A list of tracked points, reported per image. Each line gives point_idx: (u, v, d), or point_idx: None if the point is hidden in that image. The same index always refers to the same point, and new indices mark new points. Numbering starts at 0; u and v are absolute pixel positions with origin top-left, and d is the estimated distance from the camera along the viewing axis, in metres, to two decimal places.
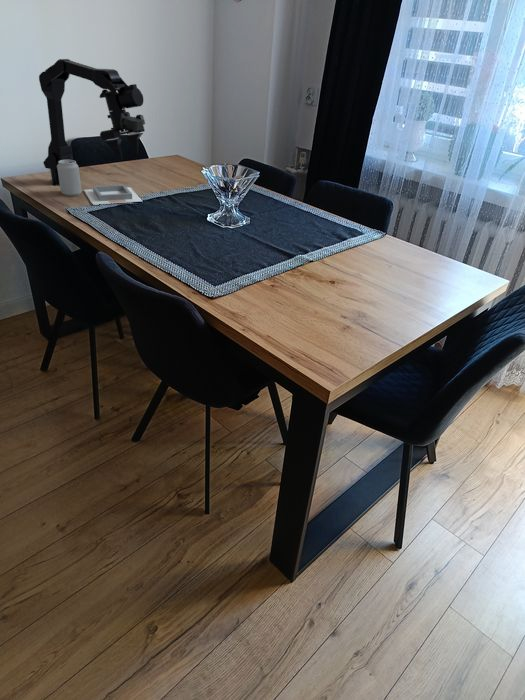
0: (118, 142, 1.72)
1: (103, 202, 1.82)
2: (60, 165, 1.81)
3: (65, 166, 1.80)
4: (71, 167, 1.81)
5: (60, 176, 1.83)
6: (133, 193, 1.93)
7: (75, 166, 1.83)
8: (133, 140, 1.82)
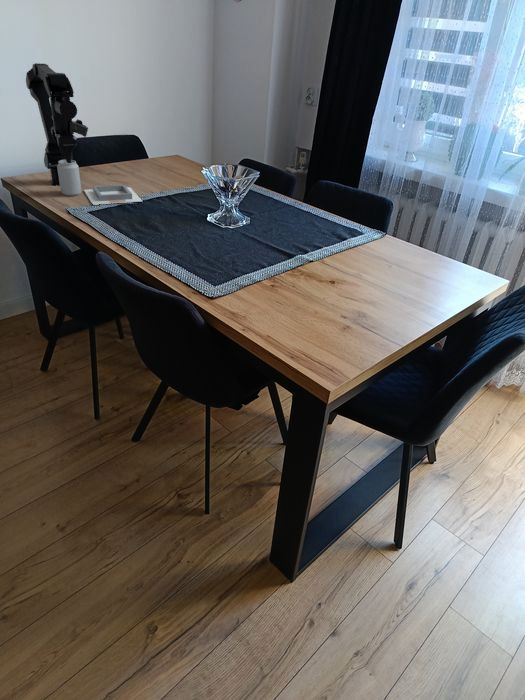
0: None
1: (103, 202, 1.82)
2: (60, 165, 1.81)
3: (65, 166, 1.80)
4: (71, 167, 1.81)
5: (60, 176, 1.83)
6: (133, 193, 1.93)
7: (75, 166, 1.83)
8: None
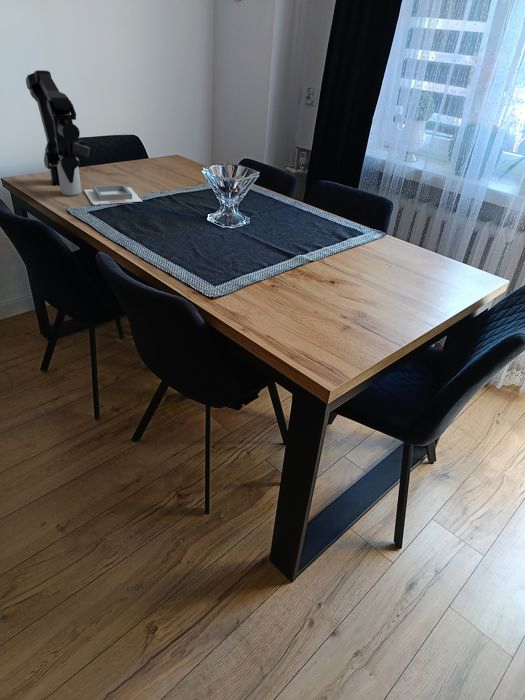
0: None
1: (103, 202, 1.82)
2: (60, 165, 1.81)
3: None
4: None
5: (60, 176, 1.83)
6: (133, 193, 1.93)
7: None
8: None
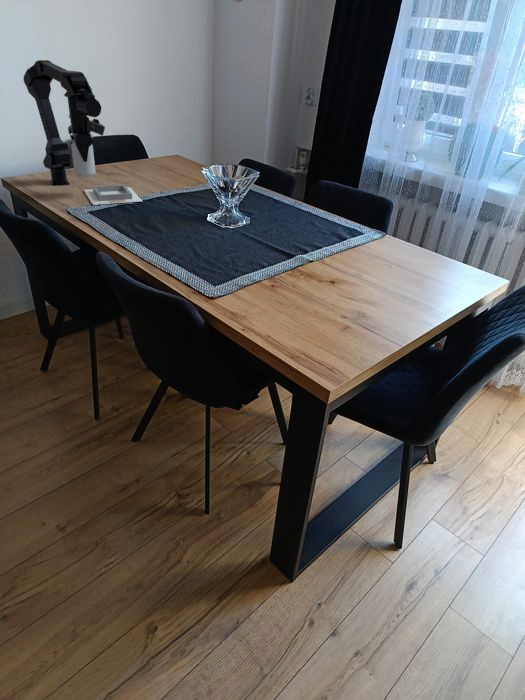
0: None
1: (103, 202, 1.82)
2: (74, 144, 1.77)
3: None
4: None
5: (74, 155, 1.78)
6: (133, 193, 1.93)
7: None
8: None
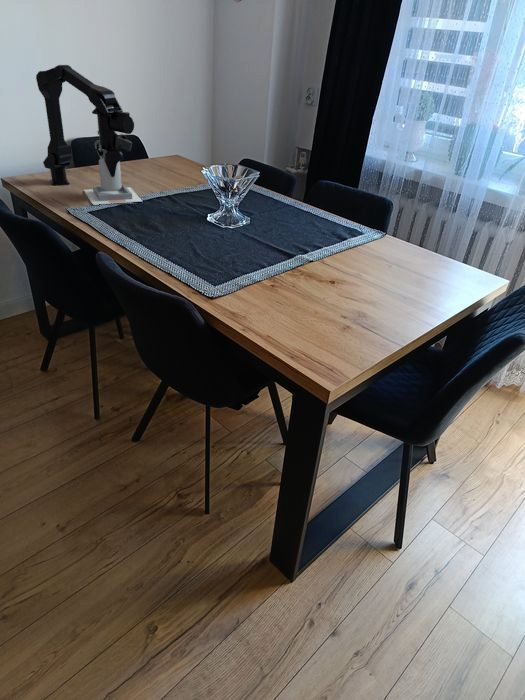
0: None
1: (103, 202, 1.82)
2: (102, 160, 1.80)
3: None
4: None
5: (102, 171, 1.82)
6: (133, 193, 1.93)
7: None
8: None
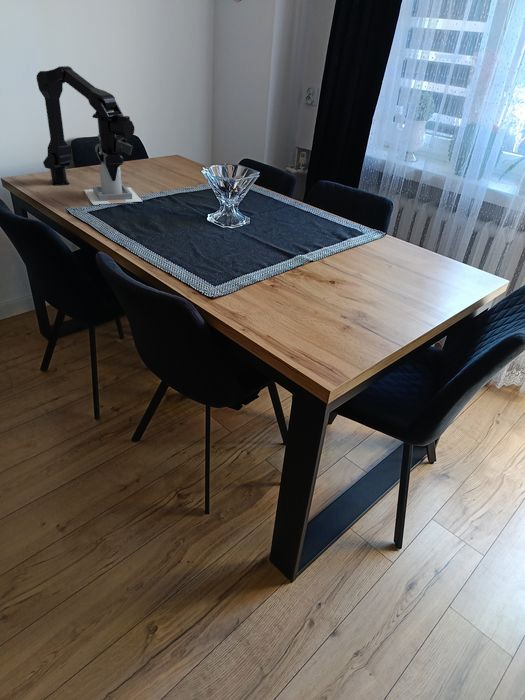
0: None
1: (103, 202, 1.82)
2: (103, 167, 1.81)
3: None
4: None
5: (102, 178, 1.83)
6: (133, 193, 1.93)
7: None
8: None
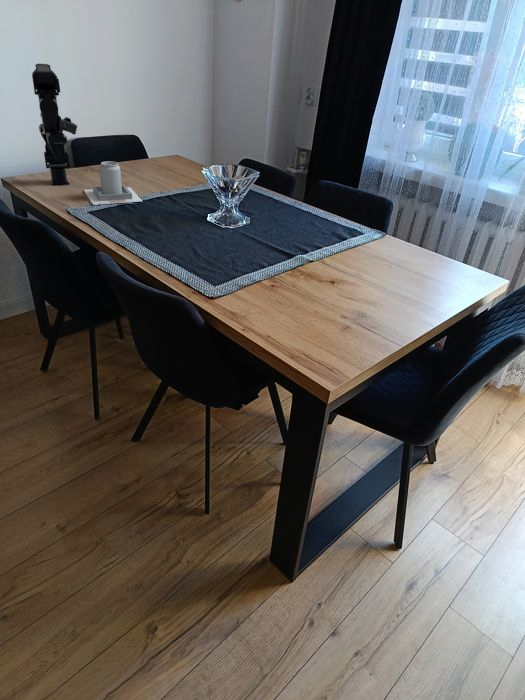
0: None
1: (103, 202, 1.82)
2: (103, 167, 1.81)
3: (108, 168, 1.81)
4: (114, 169, 1.82)
5: (102, 178, 1.83)
6: (133, 193, 1.93)
7: (117, 168, 1.83)
8: None
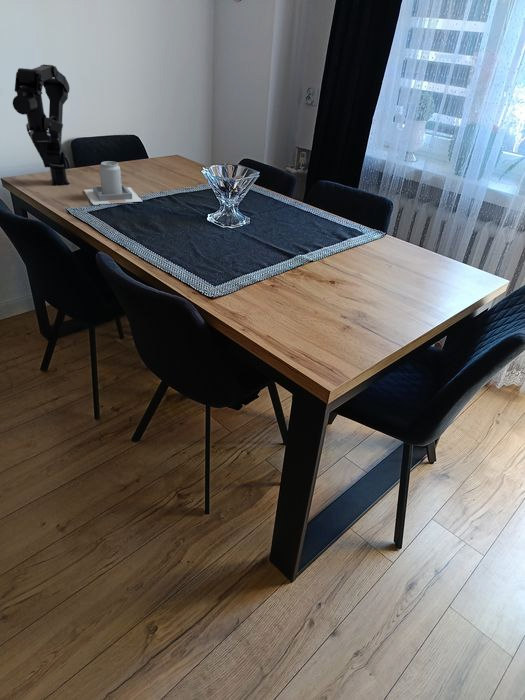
0: None
1: (103, 202, 1.82)
2: (103, 167, 1.81)
3: (108, 168, 1.81)
4: (114, 169, 1.82)
5: (102, 178, 1.83)
6: (133, 193, 1.93)
7: (117, 168, 1.83)
8: None
